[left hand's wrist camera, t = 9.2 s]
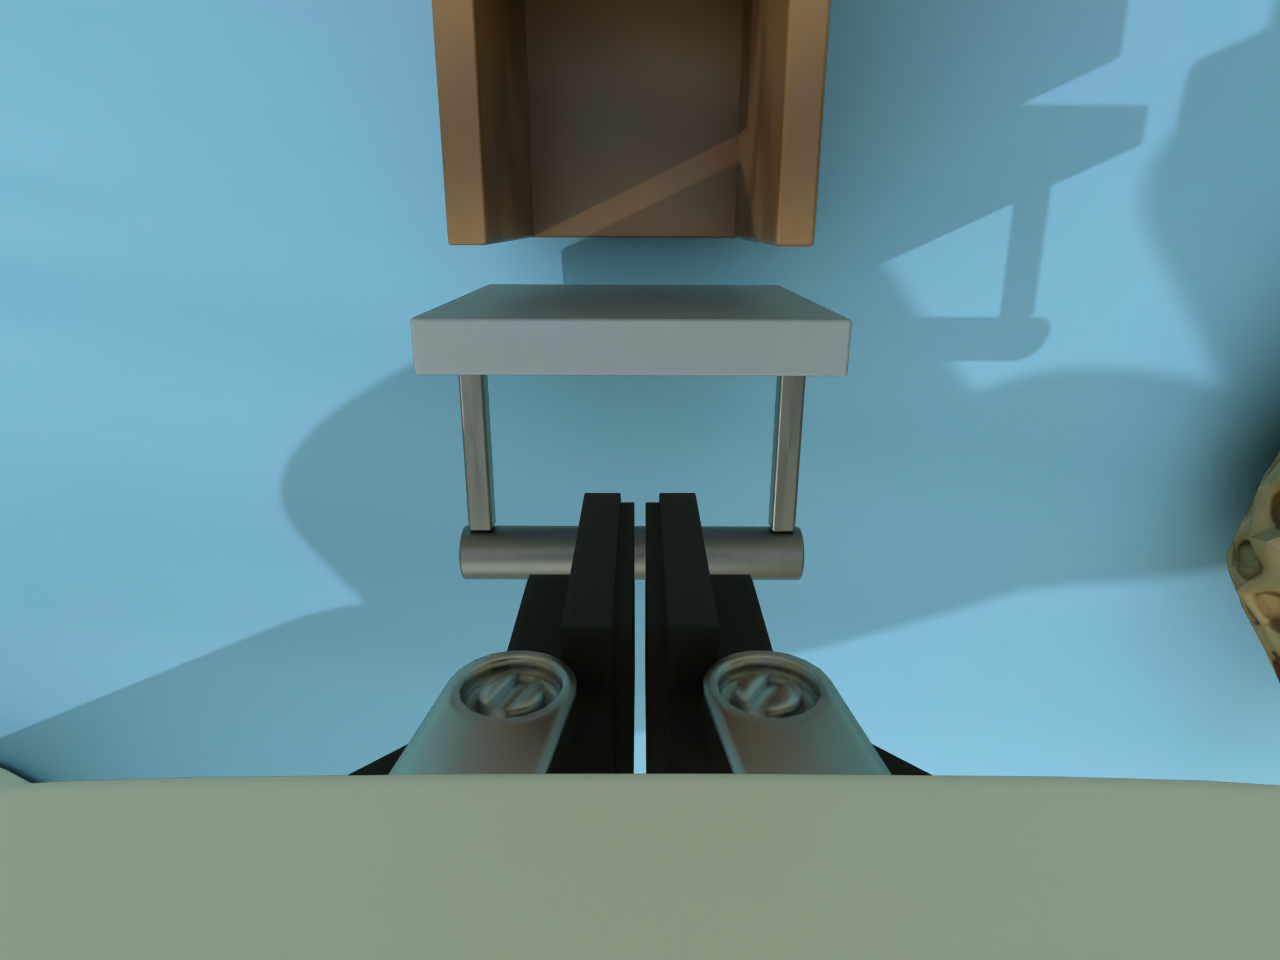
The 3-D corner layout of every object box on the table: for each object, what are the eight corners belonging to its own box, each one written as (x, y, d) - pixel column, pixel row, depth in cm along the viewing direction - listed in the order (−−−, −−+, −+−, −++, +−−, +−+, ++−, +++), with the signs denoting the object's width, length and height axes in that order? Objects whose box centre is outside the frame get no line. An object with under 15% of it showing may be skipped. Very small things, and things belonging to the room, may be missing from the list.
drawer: (767, 495, 27) (826, 621, 19) (499, 494, 27) (435, 620, 19) (820, -413, 20) (957, -894, 11) (449, -415, 20) (304, -898, 11)
